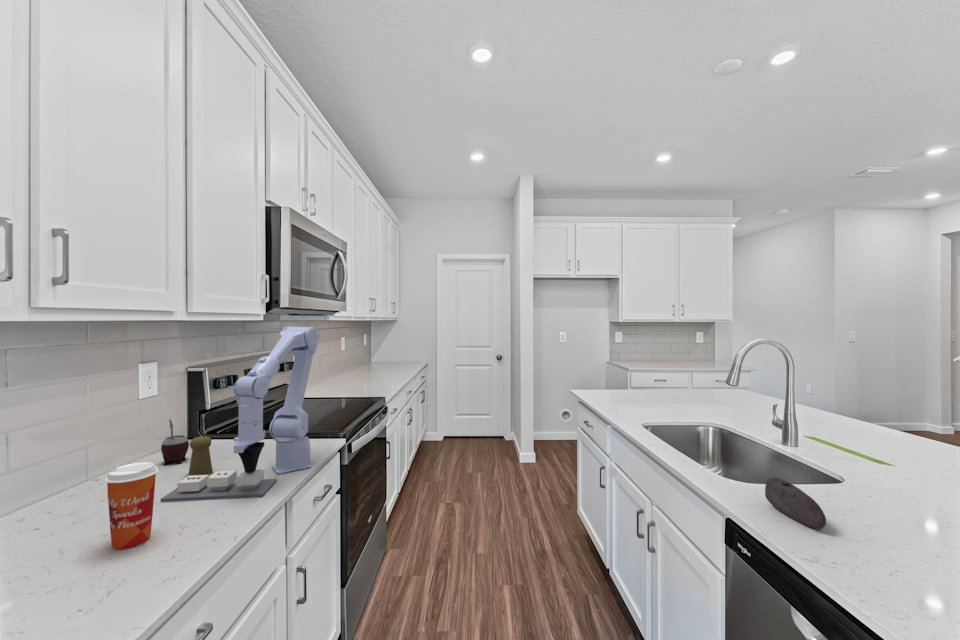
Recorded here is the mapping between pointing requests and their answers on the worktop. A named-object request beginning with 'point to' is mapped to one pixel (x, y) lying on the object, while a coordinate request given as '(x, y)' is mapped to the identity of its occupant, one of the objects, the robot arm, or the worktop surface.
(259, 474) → the key one
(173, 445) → the mate gourd
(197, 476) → the key three
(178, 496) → the keypad base
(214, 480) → the key two
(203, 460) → the cork
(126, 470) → the coffee cup
